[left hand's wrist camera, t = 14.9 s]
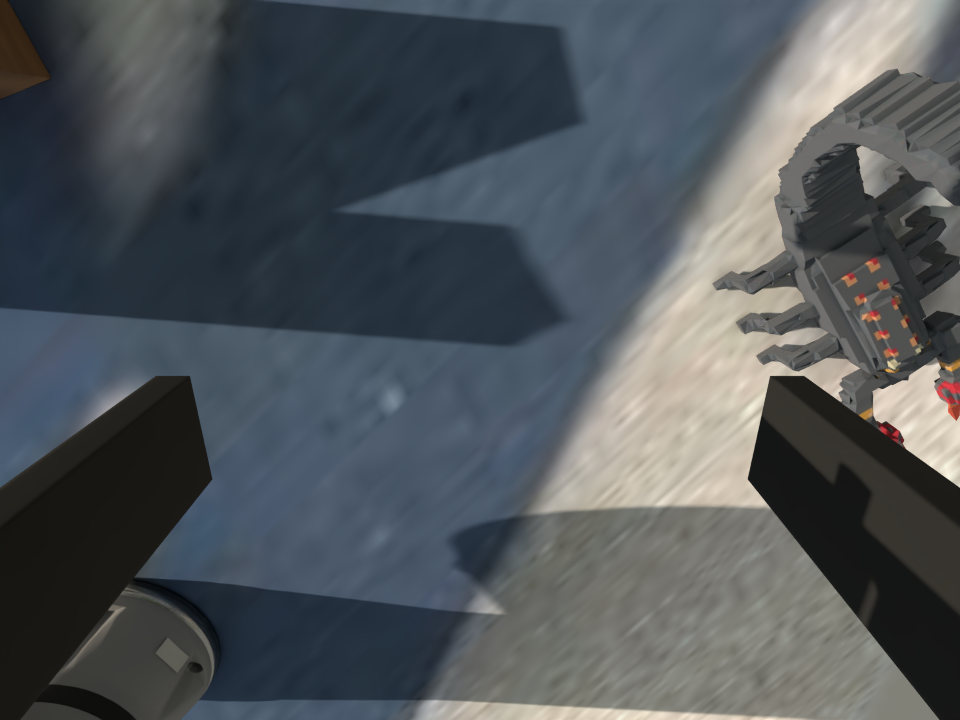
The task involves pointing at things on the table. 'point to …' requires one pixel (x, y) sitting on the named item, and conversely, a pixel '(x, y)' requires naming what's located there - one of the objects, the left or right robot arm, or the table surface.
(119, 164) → the table surface
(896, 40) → the table surface
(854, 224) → the toy
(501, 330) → the table surface
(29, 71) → the bar
